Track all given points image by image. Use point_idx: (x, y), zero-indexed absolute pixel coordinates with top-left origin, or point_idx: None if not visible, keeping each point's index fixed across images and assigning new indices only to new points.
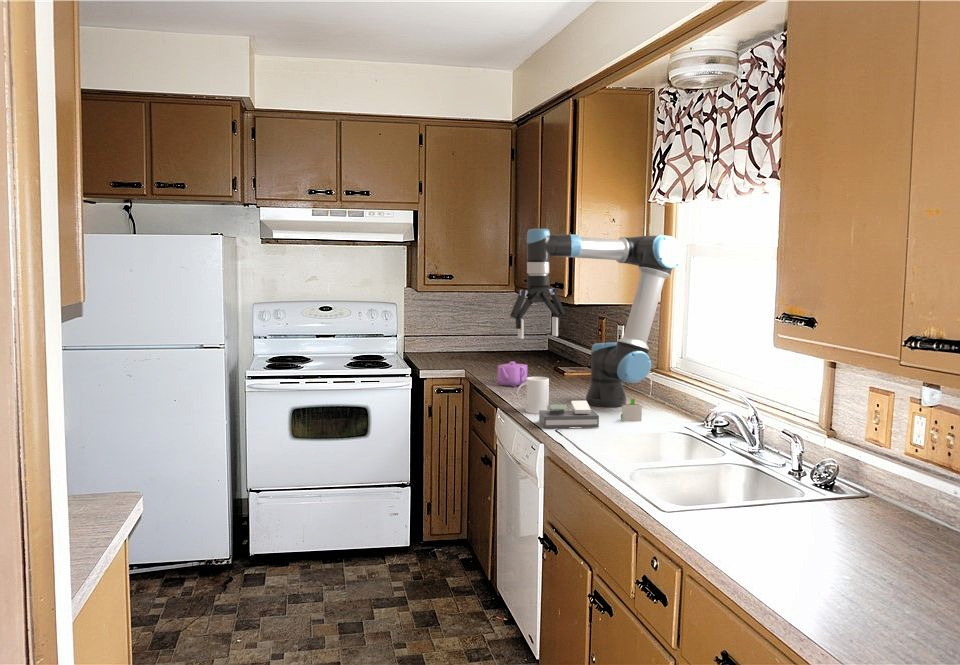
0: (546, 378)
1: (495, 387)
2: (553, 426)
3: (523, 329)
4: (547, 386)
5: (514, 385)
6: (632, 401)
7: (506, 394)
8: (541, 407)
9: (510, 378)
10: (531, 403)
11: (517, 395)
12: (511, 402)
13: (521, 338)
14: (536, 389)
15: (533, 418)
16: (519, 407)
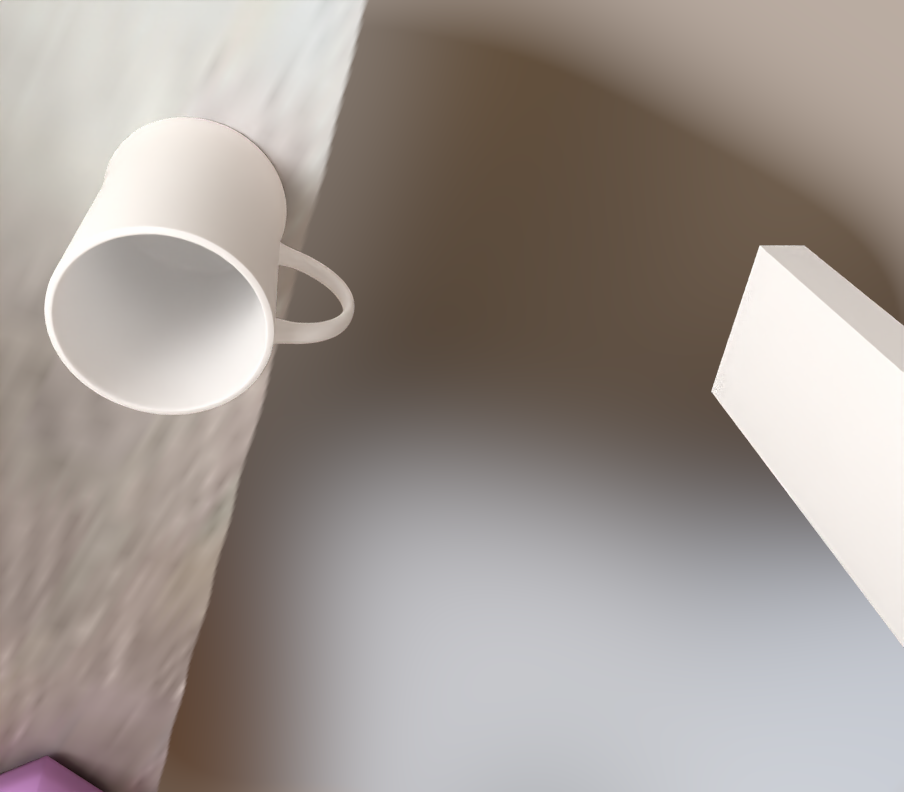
0: (58, 324)
1: (145, 766)
2: None
3: (888, 358)
4: (101, 212)
5: (45, 758)
6: None
7: (163, 644)
8: (198, 137)
9: None
10: (267, 195)
11: (351, 294)
12: (233, 484)
13: (802, 260)
14: (228, 211)
15: (343, 3)
16: None
